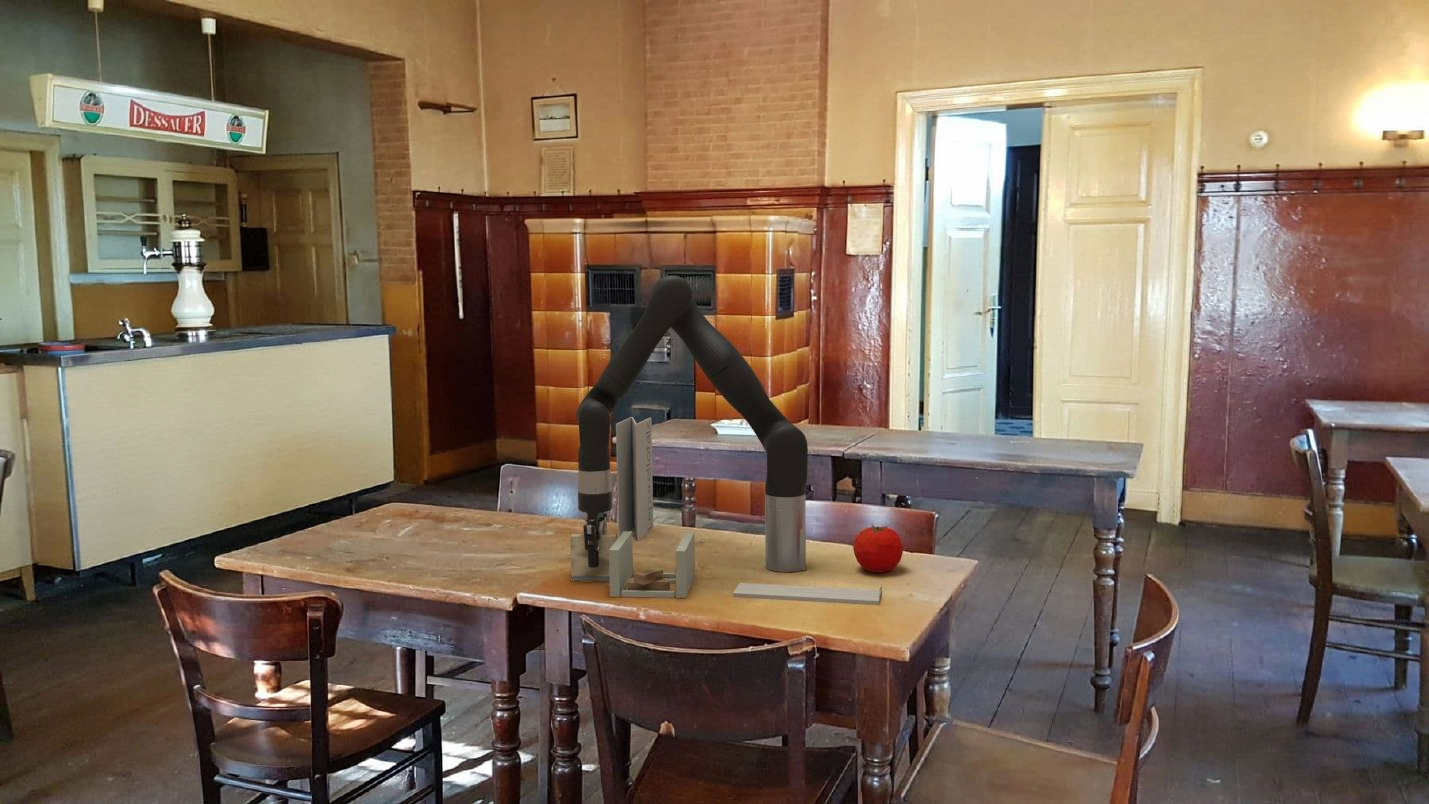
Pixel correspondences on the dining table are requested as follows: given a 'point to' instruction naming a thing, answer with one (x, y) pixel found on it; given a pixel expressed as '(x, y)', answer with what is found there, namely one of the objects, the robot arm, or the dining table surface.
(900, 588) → the dining table surface
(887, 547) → the tomato
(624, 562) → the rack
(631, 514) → the brochure
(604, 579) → the mat
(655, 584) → the offcut bottom
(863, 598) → the baseboard
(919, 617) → the dining table surface
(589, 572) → the tan wooden slab
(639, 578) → the offcut top
